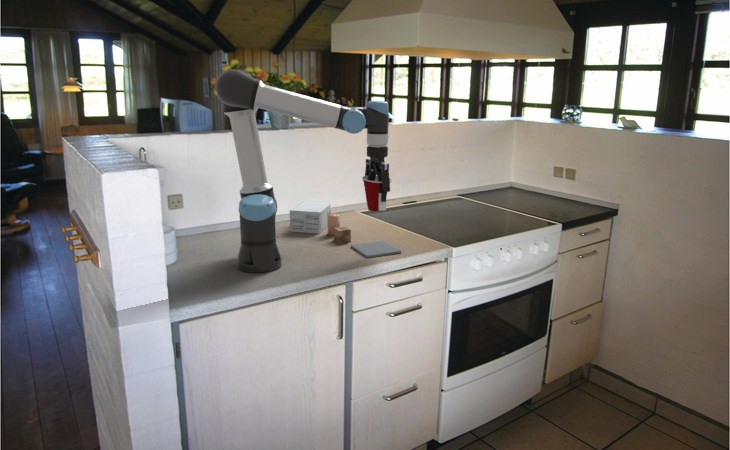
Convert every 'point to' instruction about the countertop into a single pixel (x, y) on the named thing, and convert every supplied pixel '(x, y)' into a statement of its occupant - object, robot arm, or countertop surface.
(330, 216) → the pink cylinder
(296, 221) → the supplement box
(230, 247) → the countertop surface
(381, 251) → the mat
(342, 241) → the walnut block
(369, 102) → the robot arm
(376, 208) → the plastic cup
